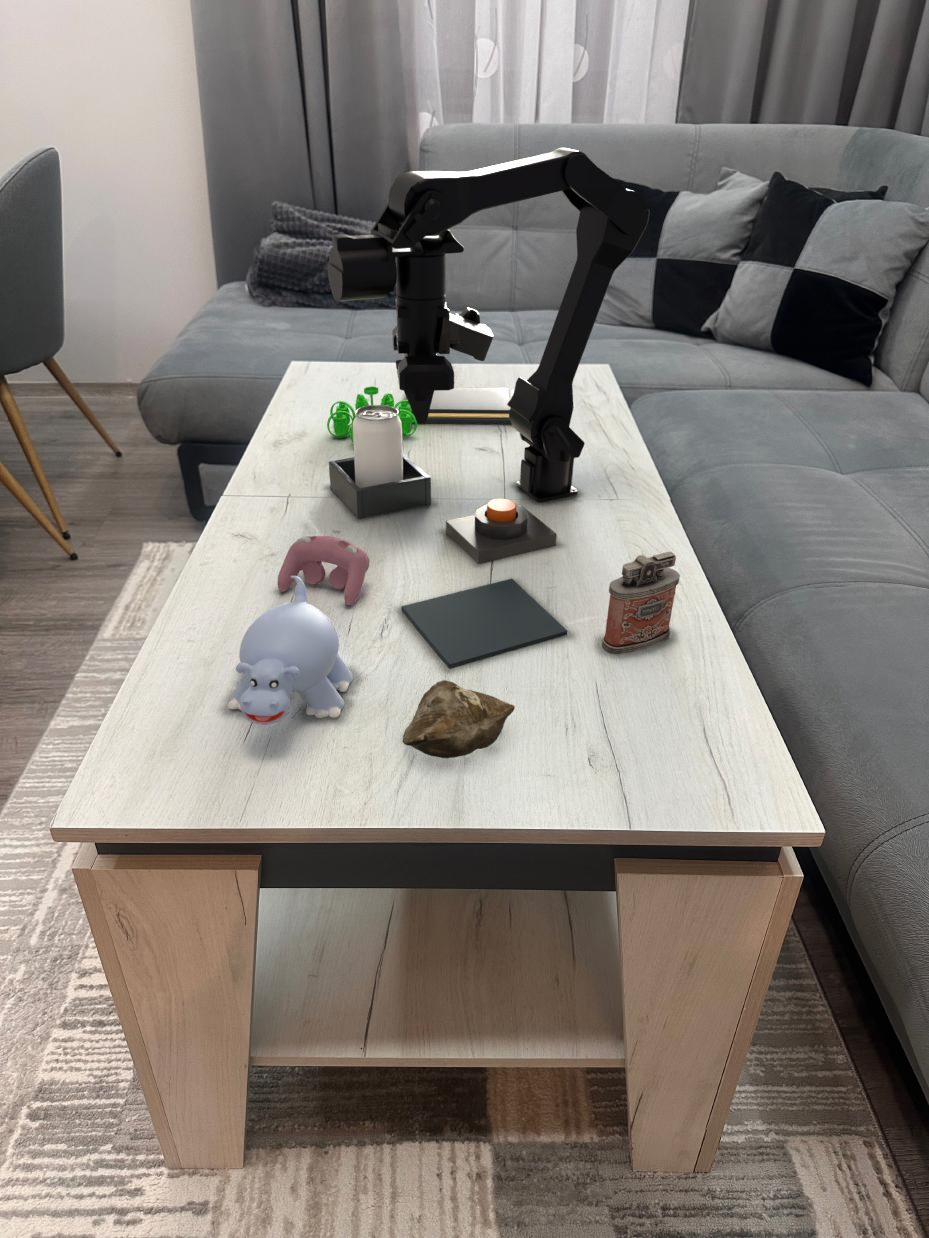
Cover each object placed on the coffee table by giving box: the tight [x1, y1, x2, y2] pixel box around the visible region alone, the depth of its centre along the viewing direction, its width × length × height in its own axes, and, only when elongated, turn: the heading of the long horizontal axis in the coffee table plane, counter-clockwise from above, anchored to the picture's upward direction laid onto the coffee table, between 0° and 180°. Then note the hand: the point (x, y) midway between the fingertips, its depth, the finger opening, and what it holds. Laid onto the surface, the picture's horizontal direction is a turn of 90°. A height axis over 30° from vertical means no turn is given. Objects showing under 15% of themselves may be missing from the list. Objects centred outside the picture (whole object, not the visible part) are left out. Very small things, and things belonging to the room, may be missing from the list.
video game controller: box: [277, 535, 370, 606], centre depth 99 cm, size 10×5×7 cm, turn 71°
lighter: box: [601, 550, 681, 656], centre depth 90 cm, size 8×3×10 cm, turn 118°
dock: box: [328, 451, 432, 520], centre depth 120 cm, size 11×11×4 cm
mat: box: [401, 578, 568, 670], centre depth 95 cm, size 14×12×1 cm
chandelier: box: [326, 386, 418, 445], centre depth 139 cm, size 15×15×7 cm
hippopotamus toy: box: [227, 575, 354, 726], centre depth 81 cm, size 11×15×10 cm
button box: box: [445, 504, 558, 565], centre depth 110 cm, size 11×9×4 cm
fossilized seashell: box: [402, 679, 516, 759], centre depth 78 cm, size 8×7×10 cm
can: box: [352, 404, 404, 488], centre depth 118 cm, size 6×6×12 cm
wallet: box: [405, 386, 515, 425], centre depth 150 cm, size 20×2×15 cm
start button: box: [486, 498, 517, 522], centre depth 109 cm, size 4×4×2 cm
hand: (421, 423), depth 111 cm, fingers closed
